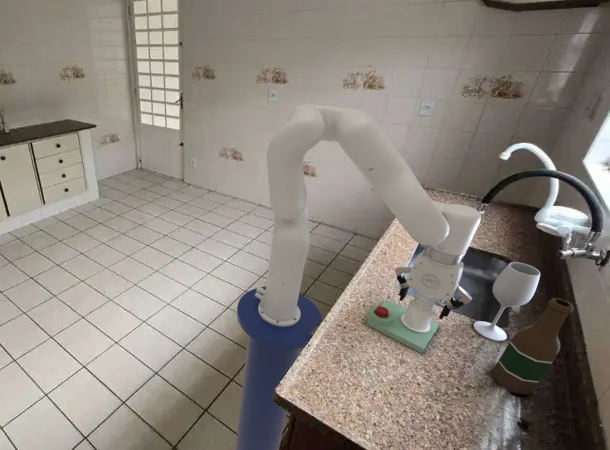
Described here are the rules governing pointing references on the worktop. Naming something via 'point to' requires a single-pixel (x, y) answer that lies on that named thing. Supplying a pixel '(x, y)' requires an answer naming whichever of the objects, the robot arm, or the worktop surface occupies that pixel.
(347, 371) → the worktop surface
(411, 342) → the scale
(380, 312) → the button
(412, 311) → the downlight
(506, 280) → the wineglass
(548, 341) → the beer bottle
